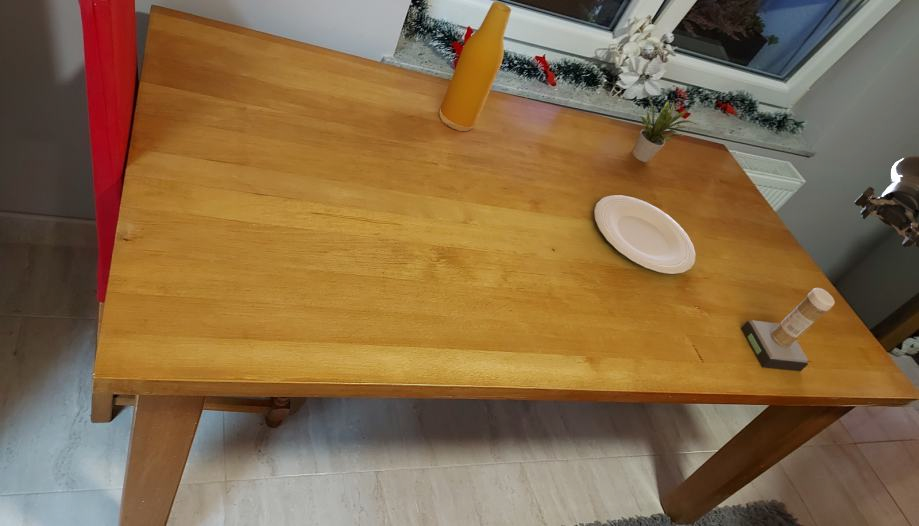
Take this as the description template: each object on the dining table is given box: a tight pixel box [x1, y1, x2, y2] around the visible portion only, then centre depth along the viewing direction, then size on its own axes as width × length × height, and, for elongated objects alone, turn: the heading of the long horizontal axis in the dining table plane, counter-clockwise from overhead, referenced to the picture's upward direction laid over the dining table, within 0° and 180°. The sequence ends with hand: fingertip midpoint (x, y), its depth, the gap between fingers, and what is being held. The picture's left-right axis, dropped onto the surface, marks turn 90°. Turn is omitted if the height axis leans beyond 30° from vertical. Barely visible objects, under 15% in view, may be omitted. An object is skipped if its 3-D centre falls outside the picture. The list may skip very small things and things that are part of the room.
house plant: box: [631, 96, 697, 163], centre depth 175 cm, size 14×14×16 cm
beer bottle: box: [439, 1, 512, 127], centre depth 152 cm, size 9×9×29 cm
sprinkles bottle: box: [771, 287, 836, 347], centre depth 134 cm, size 5×5×14 cm
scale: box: [740, 319, 809, 372], centre depth 139 cm, size 10×10×3 cm
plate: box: [593, 194, 697, 275], centre depth 152 cm, size 25×25×2 cm
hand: (886, 228), depth 128 cm, fingers open, 8 cm apart
